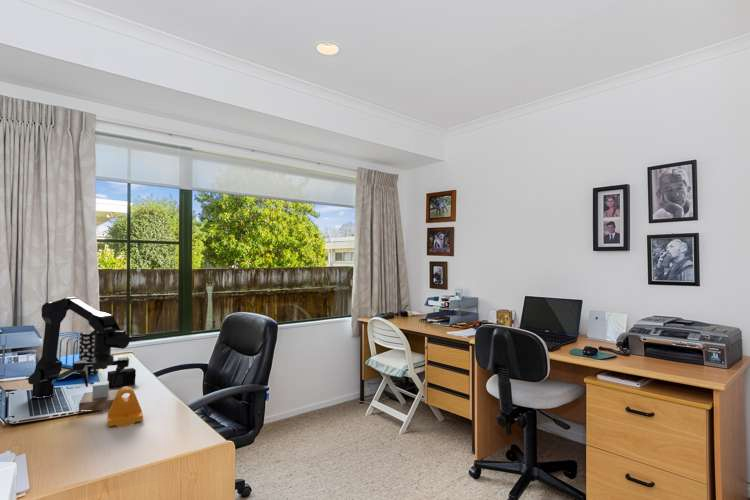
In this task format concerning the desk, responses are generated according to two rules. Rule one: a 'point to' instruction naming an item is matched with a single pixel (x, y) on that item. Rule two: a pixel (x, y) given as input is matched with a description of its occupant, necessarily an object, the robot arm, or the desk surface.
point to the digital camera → (122, 378)
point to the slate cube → (100, 389)
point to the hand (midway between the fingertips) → (100, 385)
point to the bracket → (124, 409)
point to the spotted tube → (87, 349)
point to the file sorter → (70, 359)
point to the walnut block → (97, 401)
